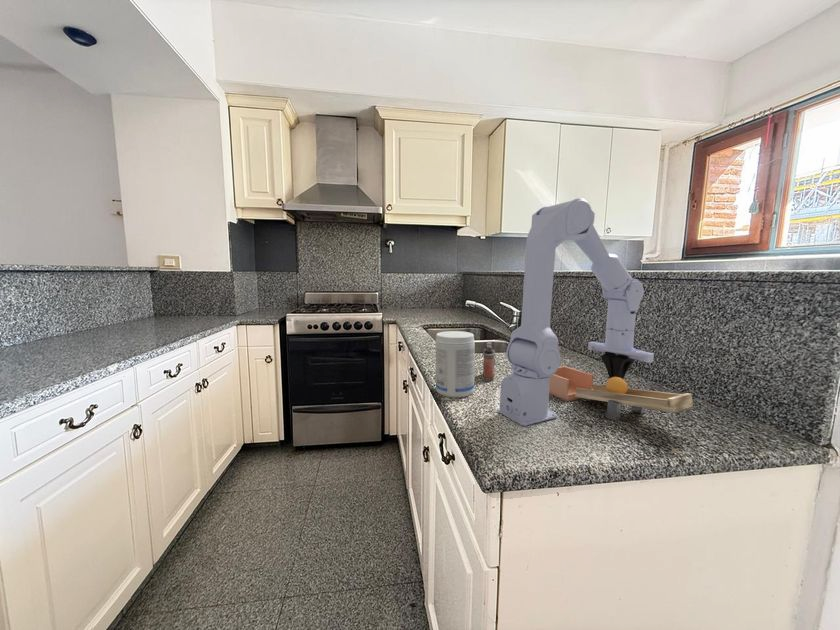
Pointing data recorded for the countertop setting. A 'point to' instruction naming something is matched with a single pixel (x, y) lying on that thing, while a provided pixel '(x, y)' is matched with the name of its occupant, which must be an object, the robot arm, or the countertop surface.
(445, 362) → the supplement tub
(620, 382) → the ball
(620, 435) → the countertop surface
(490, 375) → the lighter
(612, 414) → the pivot stand
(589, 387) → the tray
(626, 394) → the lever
